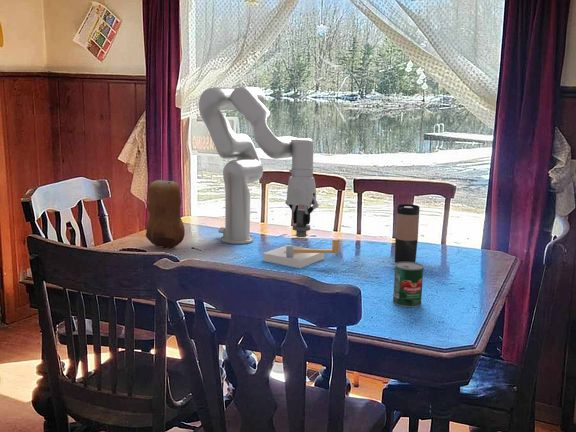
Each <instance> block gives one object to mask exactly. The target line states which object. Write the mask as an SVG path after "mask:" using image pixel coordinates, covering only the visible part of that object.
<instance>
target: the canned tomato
mask: <svg viewBox="0 0 576 432" xmlns="http://www.w3.org/2000/svg"><path fill="white" fill-rule="evenodd" d="M424 267H425V266H424V265H423V264H421V263H419V262H398V263H396V262H395V264H394V279H393V296H392V297H393V298H392V302H393V304H394V305H396V306H398V307H404V308H418V307H420V306H421V305H422V299H423V298H422V295H423V293H422V292H423V282H424V281H423V280H424Z"/></svg>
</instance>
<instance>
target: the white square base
mask: <svg viewBox="0 0 576 432" xmlns="http://www.w3.org/2000/svg"><path fill="white" fill-rule="evenodd" d="M286 246H294V249H309V248H307V247H302V246H297V245H291V244H286V245H283V246H281V247H277V248H274V249H271V250H268V251H265V252H263V253H262V261H263V262H268V263H273V264H277V265H281V266H282V265H283V266H286V267H291V268H297V269H303V268H305V267H307V266H308V267H309V265H310V266H311V265H313V264H315V263H317V262H320V261H322V260H324V259H325V253H294V256H293V257H287V256H286Z"/></svg>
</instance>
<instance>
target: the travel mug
mask: <svg viewBox="0 0 576 432" xmlns="http://www.w3.org/2000/svg"><path fill="white" fill-rule="evenodd" d="M396 209H397V210H396V223H395V240H394V244H395V245H394V263H395V264H396V263H398V262H415V263H417V262H416V260H417V252H418V251H417V250H418V241H419V240H418V239H419V223H420V206H419V205H417V204H409V203H402V204H398V205H397V208H396Z"/></svg>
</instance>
